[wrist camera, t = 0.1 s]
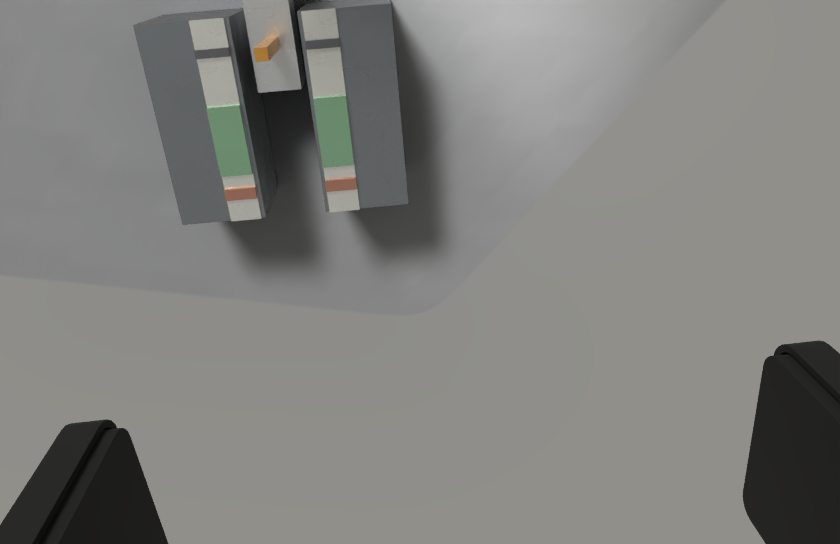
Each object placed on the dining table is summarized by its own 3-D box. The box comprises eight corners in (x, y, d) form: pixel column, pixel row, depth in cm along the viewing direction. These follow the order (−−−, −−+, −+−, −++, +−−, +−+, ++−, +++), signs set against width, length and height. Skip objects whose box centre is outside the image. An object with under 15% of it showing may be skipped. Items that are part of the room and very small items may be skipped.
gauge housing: (163, 15, 36) (130, 26, 31) (388, -5, 36) (391, 3, 31) (204, 193, 40) (180, 227, 35) (404, 175, 40) (408, 206, 36)
